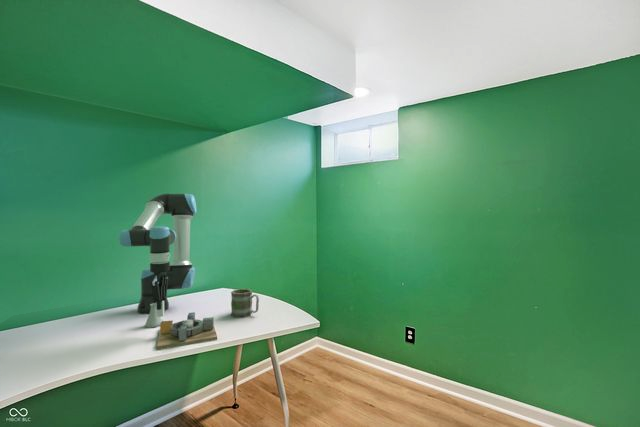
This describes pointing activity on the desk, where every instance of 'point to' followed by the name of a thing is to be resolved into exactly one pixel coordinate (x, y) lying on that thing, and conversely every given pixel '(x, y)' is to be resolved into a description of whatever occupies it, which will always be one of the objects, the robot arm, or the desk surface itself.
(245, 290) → the mug
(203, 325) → the ring nut
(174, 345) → the board
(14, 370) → the desk surface
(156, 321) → the flask
